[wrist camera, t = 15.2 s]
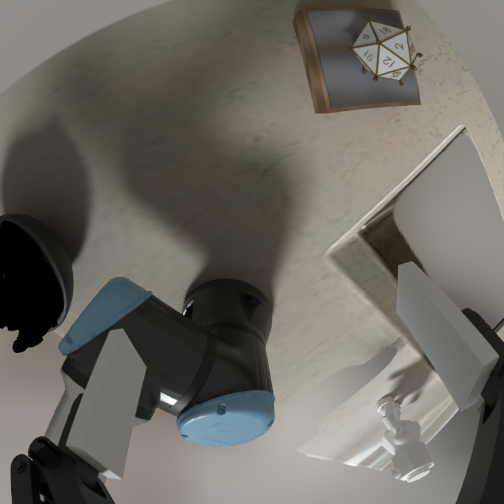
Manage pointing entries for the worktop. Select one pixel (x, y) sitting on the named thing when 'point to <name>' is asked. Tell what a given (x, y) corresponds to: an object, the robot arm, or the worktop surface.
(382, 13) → the walnut framed square mirror
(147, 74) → the worktop surface
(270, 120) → the worktop surface
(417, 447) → the robot toy
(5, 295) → the coal bowl
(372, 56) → the game die
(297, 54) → the worktop surface
